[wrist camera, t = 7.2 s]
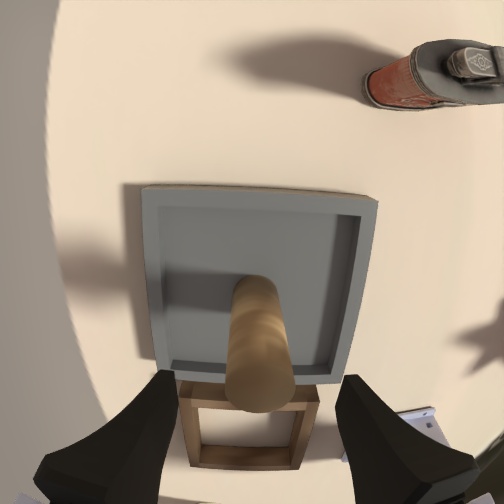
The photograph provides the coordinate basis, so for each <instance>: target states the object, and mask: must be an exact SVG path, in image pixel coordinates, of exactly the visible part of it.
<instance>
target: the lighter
mask: <svg viewBox="0 0 504 504" xmlns="http://www.w3.org/2000/svg"><path fill="white" fill-rule="evenodd" d="M361 90H362V93H363V96H364V98H365V99H366V101H367V102H368V103H369V104H370V105H371V106H373V107H375V108H378V109H386V110H394V111H425V110H432V109H439V108H444V107H459V106H470V105H487V104H500V103H504V47H501V46H491V45H487V44H484V43H480V42H476V41H473V40H460V39H446V40H438V41H432V42H426V43H424V44H422V45H420V46H418V47H416V48H414V49H413V51H412V52H411V54H410V55H409V56H406V57H404V58H402V59H400V60H398V61H396V62H394V63H392V64H390V65H388V66H385V67H381V68H377V69H374V70H372V71H370V72H368V73H367V74H365V75H364V77H363V78H362V82H361Z"/></svg>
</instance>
